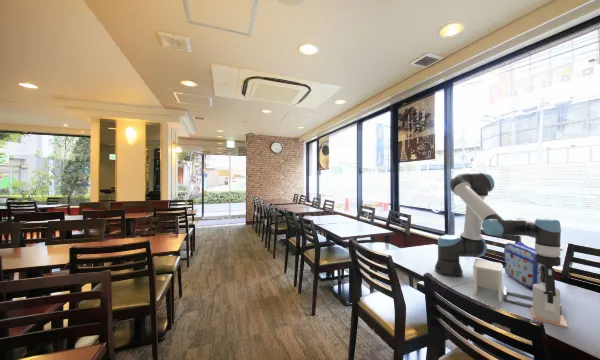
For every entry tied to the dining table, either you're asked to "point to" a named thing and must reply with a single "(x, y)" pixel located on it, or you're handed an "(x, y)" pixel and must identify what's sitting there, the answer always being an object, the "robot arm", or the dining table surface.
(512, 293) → the frame
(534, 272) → the lunch box
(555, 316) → the cup
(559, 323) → the coaster
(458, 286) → the dining table surface
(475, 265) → the shelf
